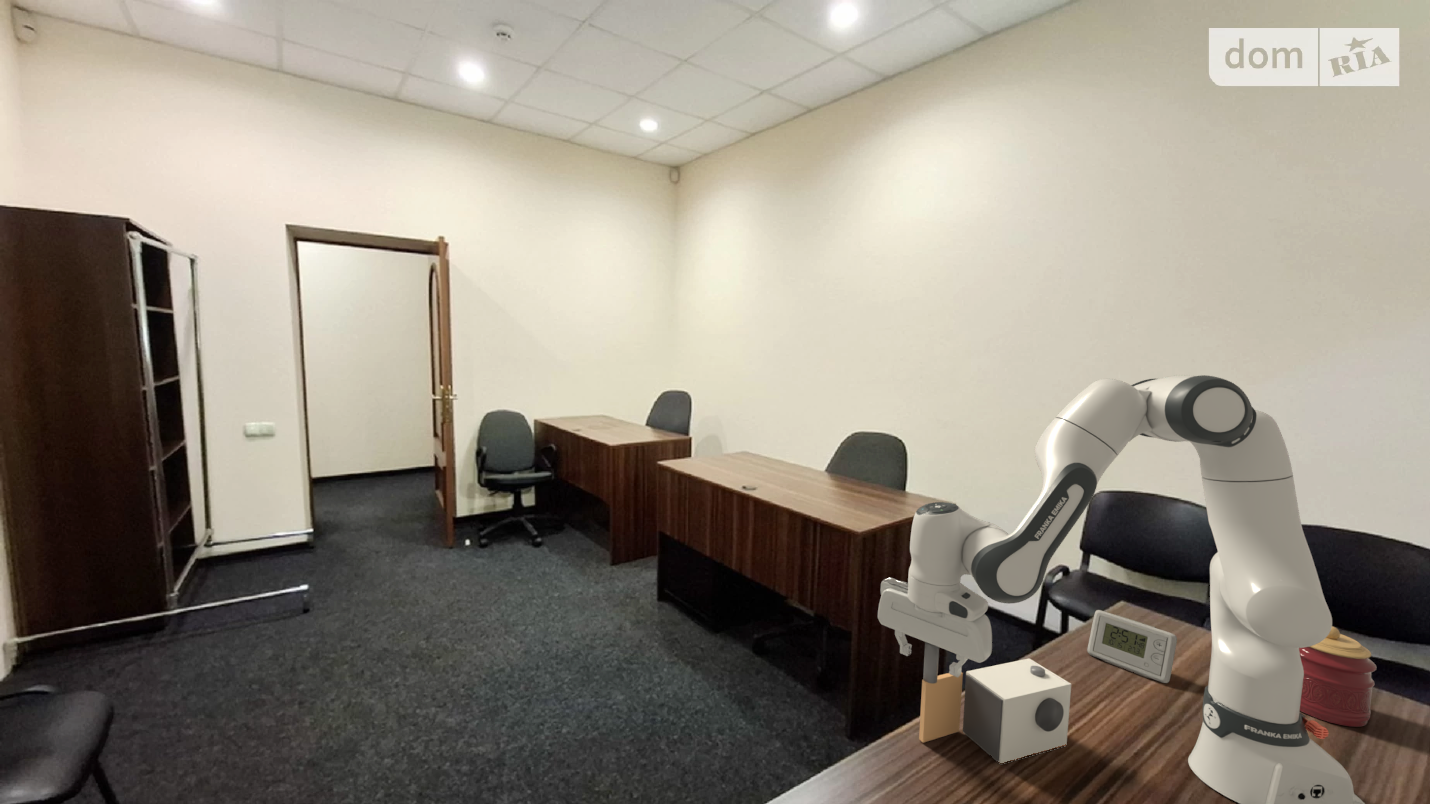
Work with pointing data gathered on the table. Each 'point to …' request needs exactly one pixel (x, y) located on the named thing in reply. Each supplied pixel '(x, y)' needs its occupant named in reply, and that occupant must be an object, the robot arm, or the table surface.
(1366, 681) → the canister
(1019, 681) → the camera case
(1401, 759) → the table surface
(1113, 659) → the digital clock
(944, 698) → the wooden flat board
